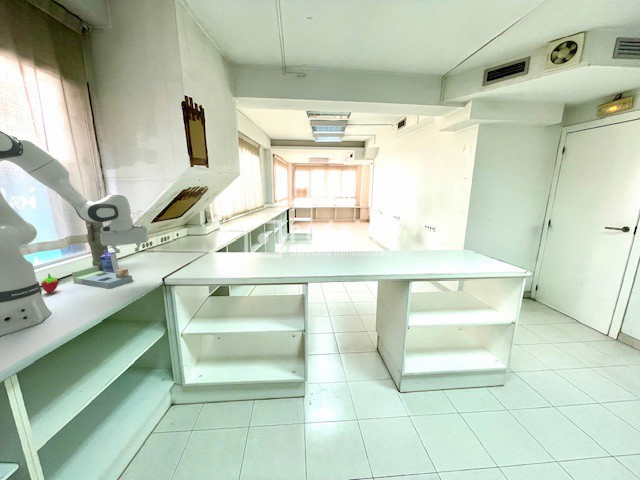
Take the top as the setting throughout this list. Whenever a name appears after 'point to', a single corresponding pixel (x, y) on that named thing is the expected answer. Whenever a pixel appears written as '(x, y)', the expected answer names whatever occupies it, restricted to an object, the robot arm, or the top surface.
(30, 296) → the robot arm
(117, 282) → the trap board
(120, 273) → the beech block
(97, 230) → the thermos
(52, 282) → the strawberry
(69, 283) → the top surface
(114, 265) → the ink cartridge box
